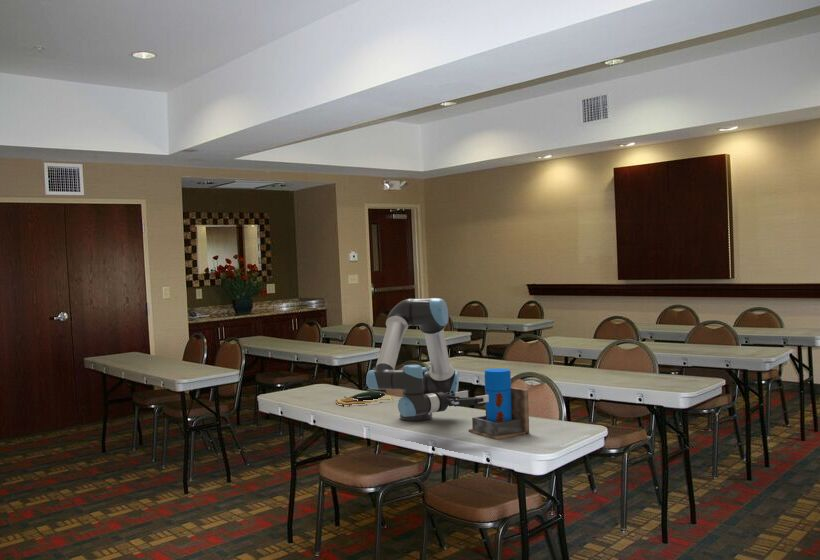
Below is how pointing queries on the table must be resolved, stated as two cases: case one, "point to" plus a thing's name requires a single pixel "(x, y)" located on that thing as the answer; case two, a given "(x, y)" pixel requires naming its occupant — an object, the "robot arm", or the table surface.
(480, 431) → the mount board
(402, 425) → the table surface
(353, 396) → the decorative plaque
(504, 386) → the thermos
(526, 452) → the table surface
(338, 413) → the table surface
